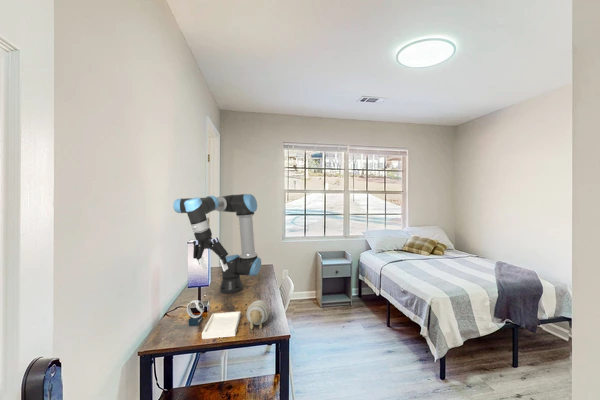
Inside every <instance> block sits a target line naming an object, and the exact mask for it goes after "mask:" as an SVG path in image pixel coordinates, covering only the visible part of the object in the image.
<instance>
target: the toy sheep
mask: <svg viewBox="0 0 600 400" xmlns="http://www.w3.org/2000/svg"><path fill="white" fill-rule="evenodd" d="M269 316H270V308H269V305H268V304H267V303H266V301H264V300H262V299H259V300H255V301H253V302H252V303H250V304H249V306H248V307H247V310H246V318H247V321H248V322H249V323H250V324H249V325H250V329H251V330H253V329H254V326H258V328H259V330H262V329H263V324H264V323H265V322H266V321H267V320H268V319H269Z"/></svg>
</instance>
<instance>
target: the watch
mask: <svg viewBox="0 0 600 400" xmlns="http://www.w3.org/2000/svg"><path fill="white" fill-rule="evenodd" d="M191 303H193V304H195V308H196V310H197V311H199V312H200V314H194V313H193V312H192V310H191V308H190V305H191ZM204 311H205V304H204V302H203V301H201V300H198V299H194V300H191V301H190V302H189V303H188V304H187V306H186V313H187V314H188V316H189V319H188V327H198V326H200V324H201V323H202V322H203V313H204Z"/></svg>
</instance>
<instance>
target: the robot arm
mask: <svg viewBox="0 0 600 400" xmlns="http://www.w3.org/2000/svg"><path fill="white" fill-rule="evenodd" d="M172 208H173V210H174V212H175V213H178V214H187V217H188V220H189V223H190V225H191V228H192V232H193V235H194V239H195V240H194V241H193V242H192V244H193V251H192V252H193V254H192V256H193V259H196V260H197V262H198V264H199V266H200V268H201V269H200V270H201V272H205V271H206V270H207V269H208V267H207V264H206V261H205V258H204V257H203V254H204V251H205V250H206V249H207V250H208V249H209V250H210V251H212V252H213V253H214V254H216V255H217V257H219V263H220V265H221V278H222V280H221V282H220V286H219V292H220V293H221V294H227V295H228V294H235V293H240V292H241V291H243V289H244V286H243V282H242V280H241V276H250V277H251V276H257V275H258V274H259V273H260V271H261V267H262V258H261V257H259V256H258V253H257V252H256V249H255V236H254V222H253V217H254V216H255V212H256V211H257V209H258V202H257V199H256V197H255V196H254V195H253V194H250V193H249V194H248V193H244V194H243V193H242V194H241V193H240V194H228V195H223V196H217V197H216V196H215V195H209V196H206V197H198V196H197V197H191V198H189V197H188V198H187V197H186V198H177V199H175V200H174V201H173V207H172ZM214 211H217V212H219V213H220V212H223V213H224V212H225V213H235V214H236V215H235V216H236V217H237V218H238V221H239V224H238V225H239V234H240V235H239V236H240V247H241V249H240V250H241V254H231V255H229V253H228V252H227V250H226V248H225V247H224V246H223V245H222V243H221V242H220V240H219V237H215V238H212V236H213V233H212V230H211V228H210V224H209V220H208V218H207V214H209V213H211V212H214Z"/></svg>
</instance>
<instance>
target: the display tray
mask: <svg viewBox="0 0 600 400" xmlns="http://www.w3.org/2000/svg"><path fill="white" fill-rule="evenodd" d="M241 316H242V315H241V311H239V310H238V311H227V312H214V313H211V316H210V317H209V319H208V321H207V323H206V324H205V326H204V328H203V330H202V333H201V339H202V340H207V339H218V338H219V337H220V338H228V337H229V338H230V337H235V336H236V334H237V330H238V328H239V323H240V321H241Z"/></svg>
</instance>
